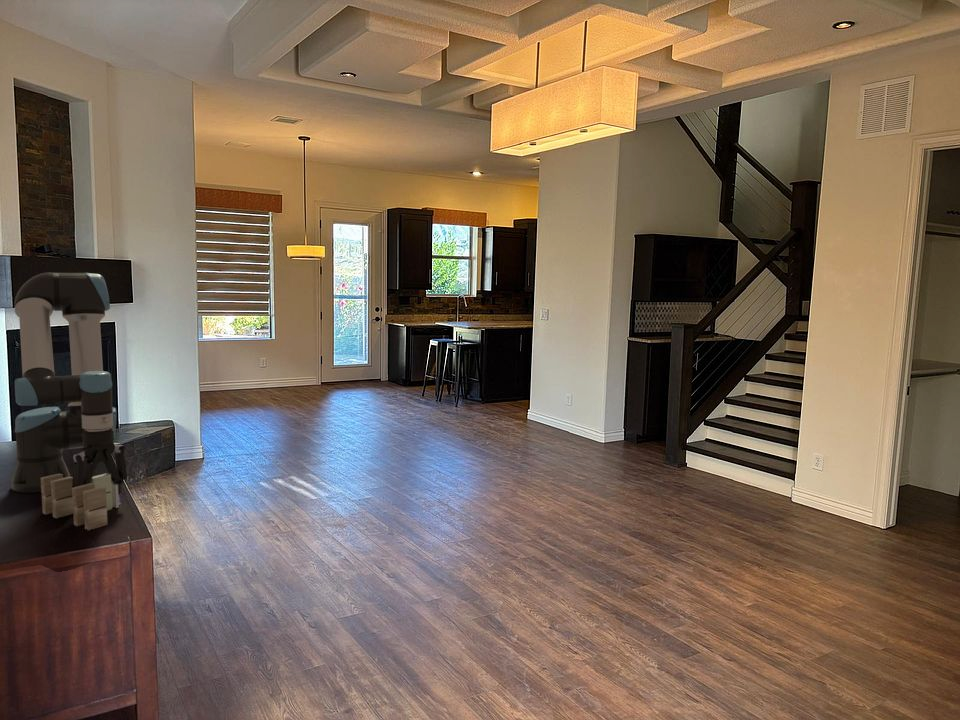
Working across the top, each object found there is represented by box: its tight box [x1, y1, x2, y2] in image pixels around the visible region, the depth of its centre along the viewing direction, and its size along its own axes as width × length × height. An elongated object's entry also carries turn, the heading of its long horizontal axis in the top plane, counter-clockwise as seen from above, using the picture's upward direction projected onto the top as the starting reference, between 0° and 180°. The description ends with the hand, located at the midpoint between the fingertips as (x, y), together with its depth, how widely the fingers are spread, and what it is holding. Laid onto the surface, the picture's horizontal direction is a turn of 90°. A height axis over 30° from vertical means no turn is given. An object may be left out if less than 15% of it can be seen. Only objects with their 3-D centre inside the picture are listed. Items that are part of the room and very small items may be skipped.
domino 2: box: [51, 476, 73, 519], centre depth 189 cm, size 2×5×10 cm, turn 149°
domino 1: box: [40, 473, 63, 515], centre depth 191 cm, size 2×5×10 cm, turn 149°
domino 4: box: [91, 472, 113, 511], centre depth 193 cm, size 2×5×10 cm, turn 149°
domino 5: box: [83, 487, 108, 531], centre depth 181 cm, size 2×5×10 cm, turn 149°
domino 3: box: [72, 483, 95, 527], centre depth 184 cm, size 2×5×10 cm, turn 149°
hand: (101, 510), depth 193 cm, fingers open, 7 cm apart
